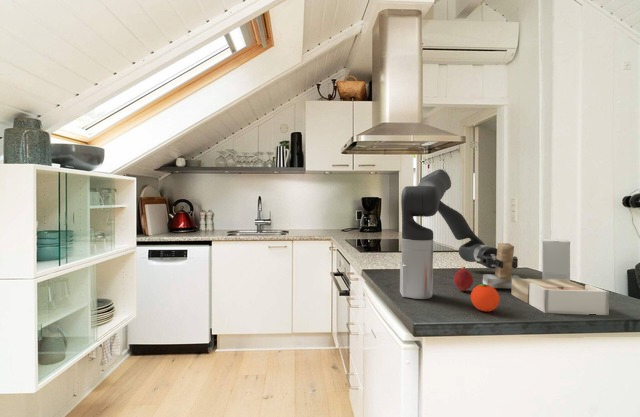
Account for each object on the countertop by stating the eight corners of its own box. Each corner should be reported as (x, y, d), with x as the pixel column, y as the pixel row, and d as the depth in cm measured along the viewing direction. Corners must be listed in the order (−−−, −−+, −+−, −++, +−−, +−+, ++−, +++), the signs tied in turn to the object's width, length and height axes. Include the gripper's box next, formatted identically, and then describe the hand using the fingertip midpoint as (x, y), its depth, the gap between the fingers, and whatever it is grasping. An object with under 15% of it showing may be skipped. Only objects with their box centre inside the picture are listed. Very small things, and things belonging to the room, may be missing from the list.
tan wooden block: (527, 303, 100) (528, 286, 100) (511, 294, 110) (511, 278, 110) (587, 305, 98) (587, 287, 98) (565, 295, 108) (565, 279, 108)
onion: (474, 294, 109) (475, 268, 109) (455, 293, 111) (455, 267, 110) (470, 289, 115) (471, 265, 115) (452, 288, 116) (452, 264, 116)
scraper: (487, 287, 115) (490, 246, 112) (482, 282, 119) (485, 242, 116) (522, 288, 114) (526, 247, 112) (516, 283, 118) (520, 243, 115)
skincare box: (569, 283, 126) (570, 239, 126) (570, 286, 121) (571, 241, 120) (541, 280, 131) (542, 238, 130) (541, 283, 125) (542, 239, 125)
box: (544, 312, 91) (545, 289, 91) (529, 303, 99) (529, 282, 99) (608, 315, 90) (609, 291, 90) (587, 305, 98) (588, 284, 98)
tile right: (563, 303, 98) (569, 306, 95) (563, 287, 98) (570, 289, 95) (580, 303, 98) (587, 307, 95) (580, 287, 98) (587, 290, 95)
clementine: (463, 306, 97) (464, 280, 97) (487, 305, 97) (488, 280, 97) (478, 315, 89) (479, 287, 89) (505, 315, 89) (505, 287, 89)
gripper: (468, 245, 129) (486, 252, 112) (508, 246, 128) (532, 253, 111) (467, 265, 129) (485, 276, 112) (507, 266, 128) (531, 277, 111)
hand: (508, 265), depth 112 cm, fingers closed on scraper, 3 cm apart
